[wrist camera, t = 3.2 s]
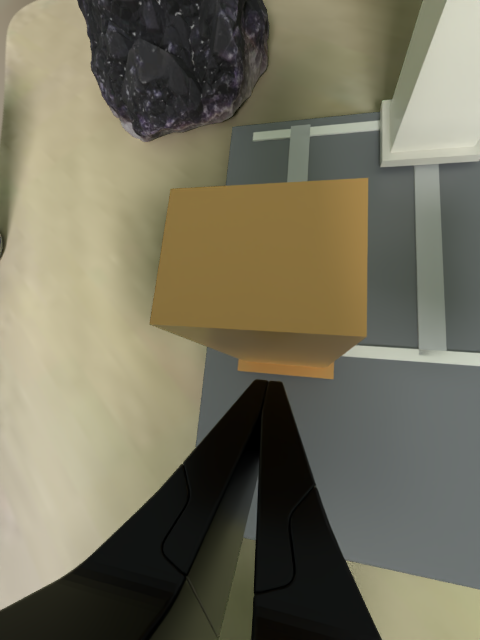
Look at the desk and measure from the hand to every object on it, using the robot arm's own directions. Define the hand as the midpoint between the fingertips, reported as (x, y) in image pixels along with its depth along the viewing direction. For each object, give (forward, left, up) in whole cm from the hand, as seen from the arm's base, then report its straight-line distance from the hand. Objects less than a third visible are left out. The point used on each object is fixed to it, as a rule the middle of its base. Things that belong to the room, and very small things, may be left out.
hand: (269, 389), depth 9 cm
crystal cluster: (+25, +1, -8) cm, 26 cm away
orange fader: (+2, -1, -6) cm, 7 cm away
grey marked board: (+3, -5, -8) cm, 10 cm away
